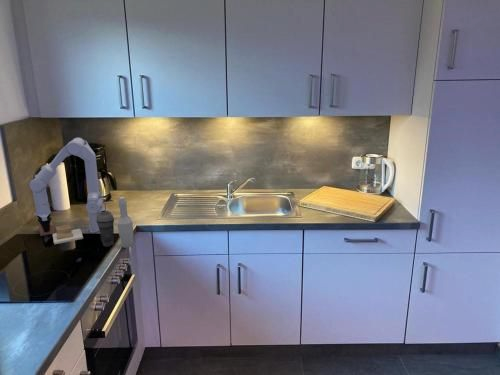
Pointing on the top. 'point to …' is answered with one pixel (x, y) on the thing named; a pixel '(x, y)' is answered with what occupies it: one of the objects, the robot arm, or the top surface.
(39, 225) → the rust brick
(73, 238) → the baseplate
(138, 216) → the top surface
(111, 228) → the beverage cup
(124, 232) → the faceted bottle
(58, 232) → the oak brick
